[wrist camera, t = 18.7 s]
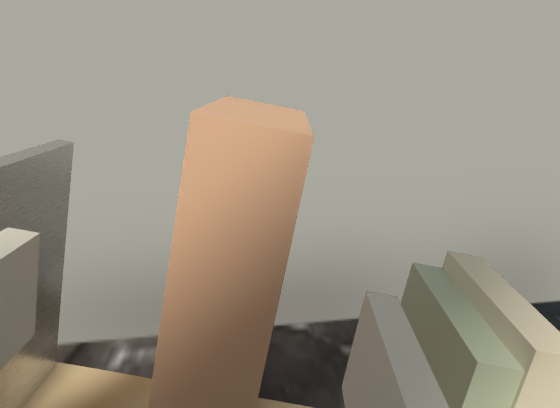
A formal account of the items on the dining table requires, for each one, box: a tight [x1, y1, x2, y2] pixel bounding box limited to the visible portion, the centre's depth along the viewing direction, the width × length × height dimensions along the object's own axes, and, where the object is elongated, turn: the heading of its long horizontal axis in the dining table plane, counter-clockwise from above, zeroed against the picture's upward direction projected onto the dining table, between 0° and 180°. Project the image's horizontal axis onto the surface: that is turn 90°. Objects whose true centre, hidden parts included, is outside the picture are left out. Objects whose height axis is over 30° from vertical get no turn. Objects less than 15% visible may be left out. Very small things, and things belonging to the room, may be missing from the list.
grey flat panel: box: [0, 140, 74, 408], centre depth 23 cm, size 1×10×14 cm, turn 179°
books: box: [401, 251, 560, 408], centre depth 24 cm, size 4×10×12 cm, turn 179°
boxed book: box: [148, 96, 314, 408], centre depth 23 cm, size 4×10×18 cm, turn 179°
